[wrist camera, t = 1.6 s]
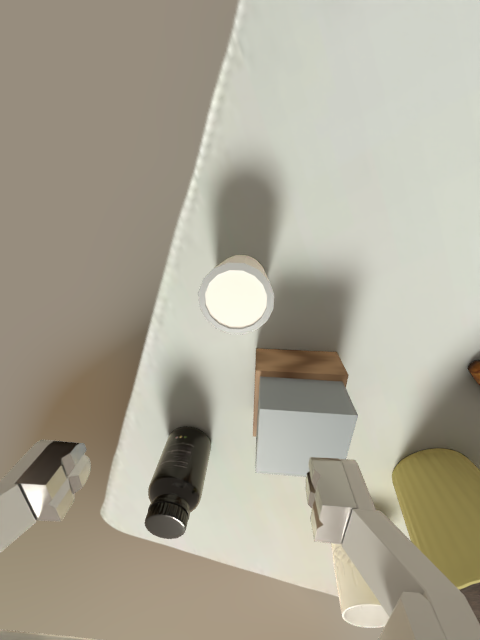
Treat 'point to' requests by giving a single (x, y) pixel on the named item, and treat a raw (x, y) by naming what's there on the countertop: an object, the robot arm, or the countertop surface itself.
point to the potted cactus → (444, 514)
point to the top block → (301, 424)
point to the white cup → (356, 593)
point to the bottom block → (296, 368)
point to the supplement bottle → (177, 482)
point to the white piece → (236, 295)
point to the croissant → (475, 370)
